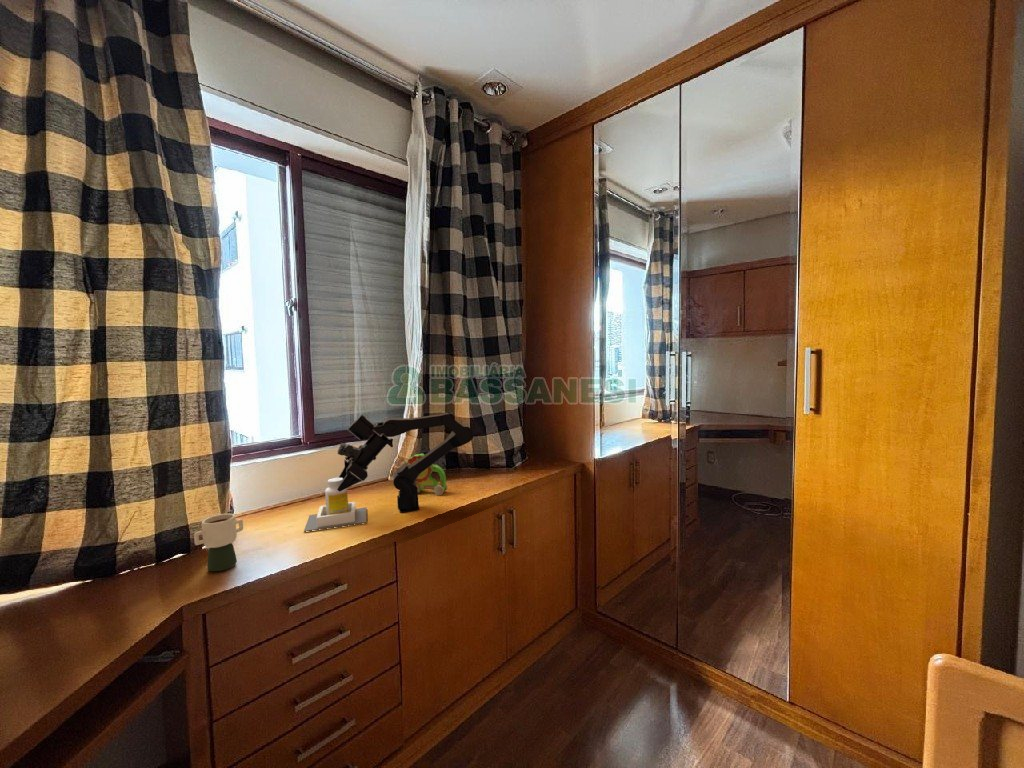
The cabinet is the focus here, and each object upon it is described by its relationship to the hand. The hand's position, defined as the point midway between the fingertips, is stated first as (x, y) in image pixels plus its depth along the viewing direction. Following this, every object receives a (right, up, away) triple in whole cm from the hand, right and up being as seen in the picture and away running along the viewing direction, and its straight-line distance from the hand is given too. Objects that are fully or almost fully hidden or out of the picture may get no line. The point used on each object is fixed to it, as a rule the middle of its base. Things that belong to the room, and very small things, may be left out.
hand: (337, 486), depth 139 cm
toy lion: (+24, -9, +26) cm, 36 cm away
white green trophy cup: (-17, -14, -30) cm, 37 cm away
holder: (0, -11, 0) cm, 11 cm away
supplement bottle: (0, -11, +1) cm, 11 cm away
